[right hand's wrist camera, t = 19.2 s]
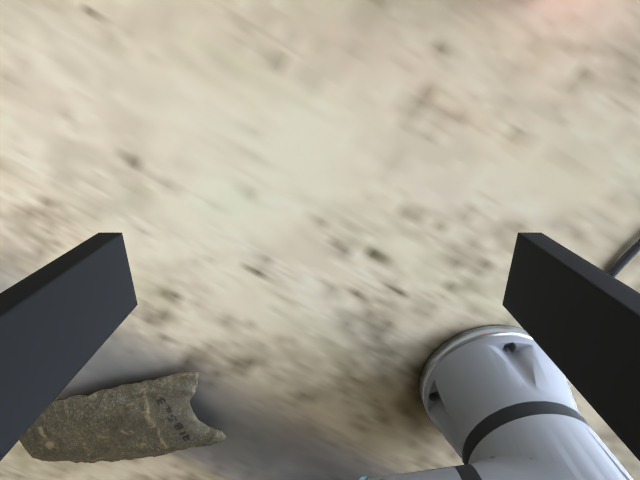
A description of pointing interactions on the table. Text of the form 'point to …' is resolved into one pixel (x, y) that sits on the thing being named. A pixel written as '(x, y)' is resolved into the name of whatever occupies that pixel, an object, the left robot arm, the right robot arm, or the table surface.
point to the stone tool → (121, 423)
